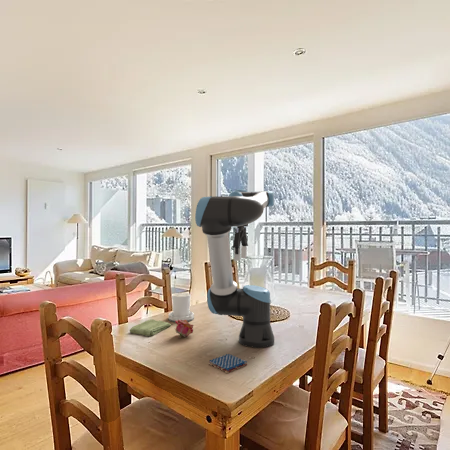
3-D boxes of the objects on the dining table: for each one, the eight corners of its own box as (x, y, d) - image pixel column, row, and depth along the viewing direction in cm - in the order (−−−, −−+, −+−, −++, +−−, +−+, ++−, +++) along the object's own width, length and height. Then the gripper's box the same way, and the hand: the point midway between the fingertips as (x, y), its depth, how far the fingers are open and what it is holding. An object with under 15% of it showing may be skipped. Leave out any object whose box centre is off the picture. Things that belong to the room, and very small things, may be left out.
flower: (185, 338, 140) (192, 321, 144) (166, 332, 143) (174, 314, 147) (191, 344, 148) (198, 328, 152) (173, 338, 151) (180, 321, 155)
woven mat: (228, 357, 126) (228, 352, 126) (248, 366, 118) (248, 360, 118) (206, 365, 119) (206, 359, 119) (227, 375, 111) (227, 369, 111)
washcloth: (172, 326, 163) (172, 320, 163) (151, 338, 147) (151, 331, 147) (150, 323, 168) (150, 317, 168) (127, 334, 152) (127, 327, 152)
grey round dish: (187, 323, 167) (187, 318, 167) (164, 321, 171) (164, 316, 171) (197, 316, 180) (197, 311, 180) (175, 314, 184) (175, 309, 184)
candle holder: (187, 320, 170) (187, 297, 170) (169, 319, 172) (169, 296, 172) (192, 315, 179) (193, 293, 179) (175, 314, 181) (175, 292, 181)
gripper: (239, 219, 188) (239, 256, 188) (227, 218, 164) (226, 261, 164) (252, 219, 186) (252, 257, 186) (241, 218, 162) (241, 262, 162)
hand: (240, 259), depth 175 cm, fingers open, 13 cm apart
